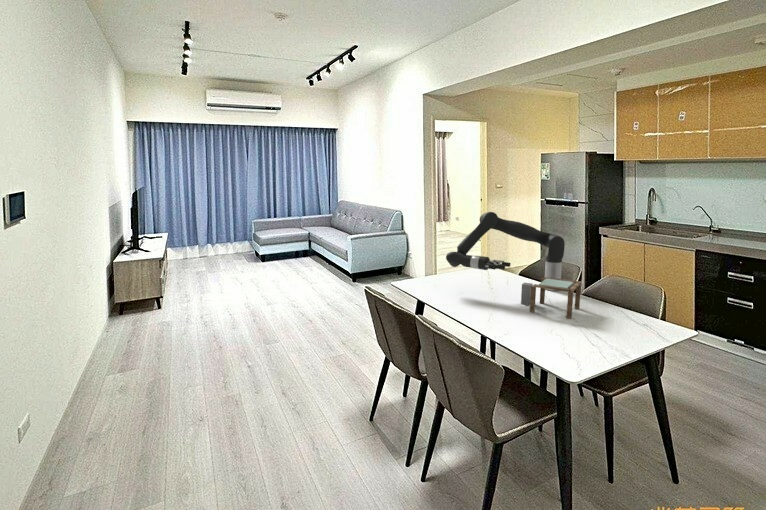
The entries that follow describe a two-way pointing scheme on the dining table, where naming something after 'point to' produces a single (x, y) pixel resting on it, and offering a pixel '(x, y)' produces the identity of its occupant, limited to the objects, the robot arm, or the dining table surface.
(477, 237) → the robot arm
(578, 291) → the trapdoor frame
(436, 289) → the dining table surface
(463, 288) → the dining table surface
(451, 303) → the dining table surface
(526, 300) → the grey rectangular block
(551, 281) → the trapdoor
